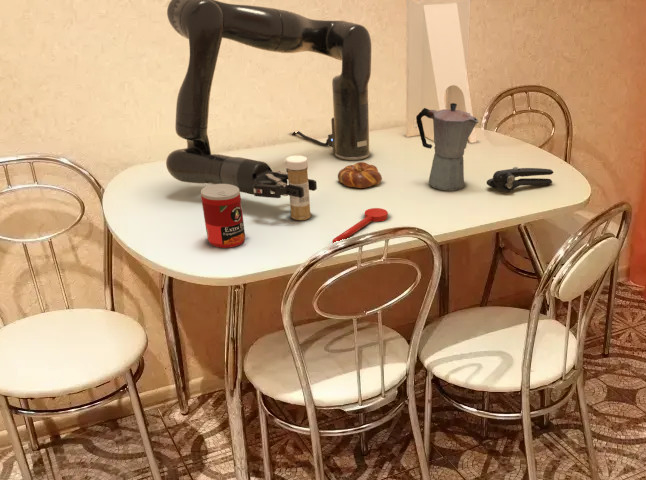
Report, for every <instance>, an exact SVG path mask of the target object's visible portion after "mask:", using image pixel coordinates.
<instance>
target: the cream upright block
mask: <svg viewBox="0 0 646 480" xmlns="http://www.w3.org/2000/svg"><path fill="white" fill-rule="evenodd" d="M471 4H472V0H417V1H416V0H406V24H405V25H406V32H405V33H406V39H405V40H406V42H405V43H406V45H405V46H406V47H405V48H406V51H405V53H406V55H405V56H406V57H405V58H406V60H405V61H406V62H405V64H406V65H405V68H406V69H405V70H406V71H405V72H406V73H405V74H406V75H405V77H406V78H405V79H406V81H405V119H406V120H405V129H406V130H405V136H406V137H408V138H410V137H417V136H420V132H419V128H418V125H417V126H415V127H414V122H415V121H416V116H417V115H418V114H419V113H420V112H421V111H422V110H423V109H424V108H426V109H429V110H436V111H440V110H443V109H445V110H451V106H450V104H451V103H455V104H457V106H456V110H460V111H463V112H467V113H470V115H471V116H473V117H474V115H473V113H474V112H473V108H472V106H473V105H472V100H471V93H470V86H469V85H470V84H469V79H468V73H469V71H468V68H469V51H470V50H469V49H470V27H471V26H470V24H471ZM421 121H422V124H423V130H424V134H425V136H424V137H425V138H426V139H429V140H431V141H433V142H434V124H433V119H431V118H428V117H426V116H423V117H422V118H421ZM475 127H476V126H475ZM475 127H474V129H473V130H472V132H471V134H470V136H469V137H468V143H470V144H473V143H477V134H476V128H475Z"/></svg>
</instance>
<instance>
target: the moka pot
mask: <svg viewBox="0 0 646 480" xmlns="http://www.w3.org/2000/svg"><path fill="white" fill-rule="evenodd" d="M450 106H451V110H445V109H443V110H440V111H436V110H429V109H426V108H424V109H423V110H422V111H421V112H420V113H419V114H418V115H417V116H416V120H415V121H416V125H417V126H418V128H419V132H420V135H419V136H420V140H421V145H422V147H423V148H427V149H432V148H433V145H432V144H431V143H428V142H427V138H426V137H425V134H424V130H423V124H422V121H421V118H422V117H423V116H426V117H428V118H431V119H433V124H434V141H433V144H434V154H433V158H432V163H431V167H430V172H429V177H428V185H429V186H430V187H433V188H435V189H436V190H440V191H441V190H442V191H450V192H451V191H458V190H461V189H463V187H465V172H464V169H465V168H464V164H465V163H464V161H465V160H464V155H465V149H467V146H468V142H469V140H468V137H469V136H470V134H471V132H472V130H473V129H474V127H476V126H477V124H479V123H480V121H479V119H478V118H477V117H476V116H474V115H473V116H471V115H470V113H467V112H463V111H460V110H456V106H457V104H455V103H451V104H450Z"/></svg>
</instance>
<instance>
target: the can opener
mask: <svg viewBox="0 0 646 480" xmlns="http://www.w3.org/2000/svg"><path fill="white" fill-rule="evenodd" d="M553 174H554V171H553V170H552V169H550V168H539V167H521V168H519V167H518V166H513V167H512V168H509V169H501V170H497V171H495V172H494V173H493V175H492V177H491V178H489V179H487V180H486V185H488V187H490V188H492V189H496V190H499V191H500V192H503V193H511V192H513V191H514V190H515V189H516V188H518V187H521V186H529V187H531V186H533V187H542V186H548V185H551V184H552V183H553V180H552V179H551V178H543V177H542V178H540V177H539V178H536V177H535V176H551V175H553ZM519 177H520V178H519ZM526 177H527V178H526ZM528 177H535V178H528ZM516 178H518V179H516Z"/></svg>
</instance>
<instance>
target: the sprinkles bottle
mask: <svg viewBox="0 0 646 480" xmlns="http://www.w3.org/2000/svg"><path fill="white" fill-rule="evenodd" d="M308 163H309V162H308V158H307V157H306V156H304V155H290V156H288V157H286V158H285V165H286V168H287V170H288V179H289V180H288V179H287V181H288V184H287V185H289V184H290V185H294V186H299V187H302V188H303V189H304V197H302V198H299V197H294V196H290V195H288V196H289V204H290V218H292V219H293V220H296V221H306V220H308V219H310V218H311V217H312V213H311V204H310V199H311V198H310V190H309V184H308V179H309V174H308V167H309V164H308Z"/></svg>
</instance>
